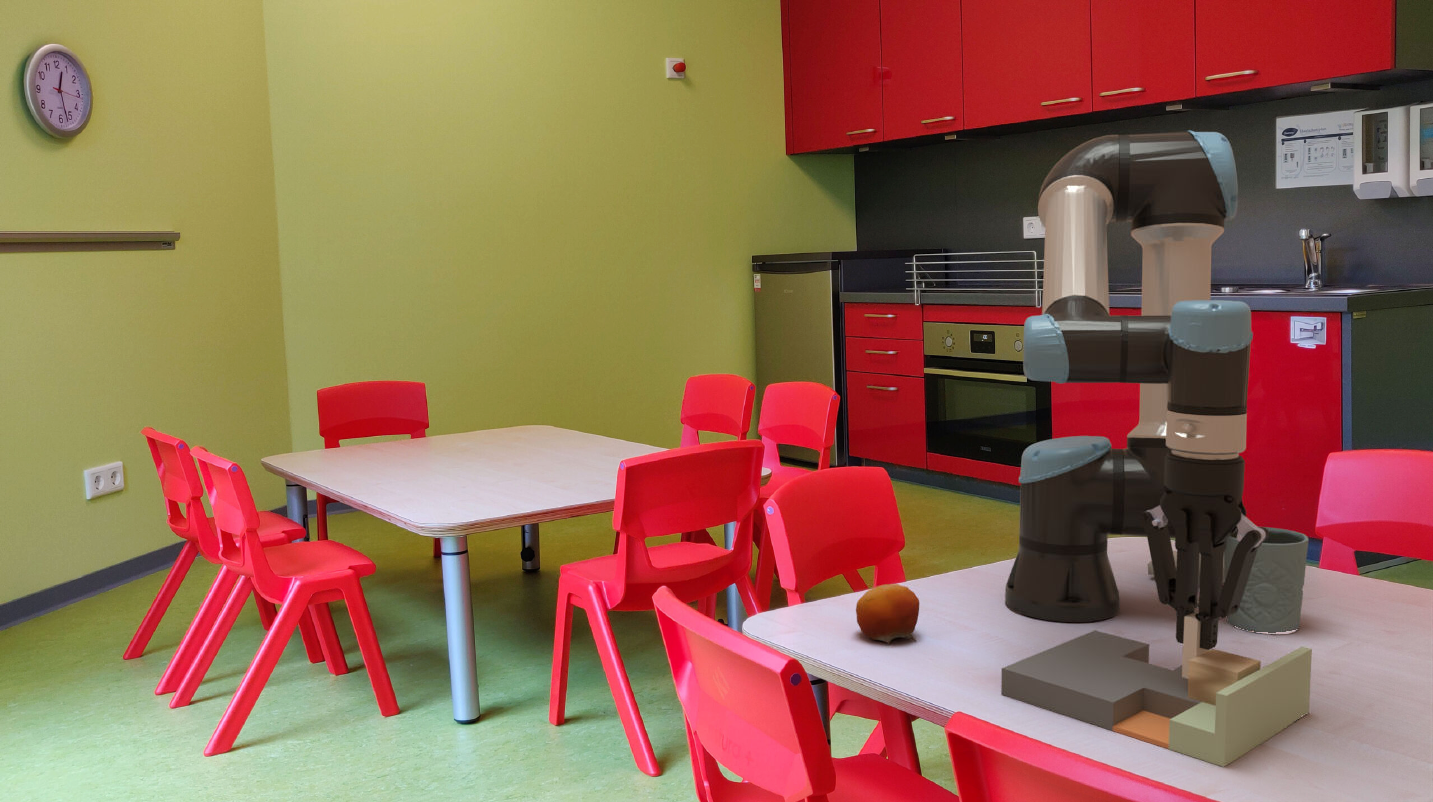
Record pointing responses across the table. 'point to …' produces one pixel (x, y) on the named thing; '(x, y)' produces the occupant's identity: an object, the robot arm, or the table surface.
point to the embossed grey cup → (1272, 582)
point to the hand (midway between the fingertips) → (1194, 675)
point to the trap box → (1161, 696)
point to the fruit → (888, 612)
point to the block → (1217, 673)
